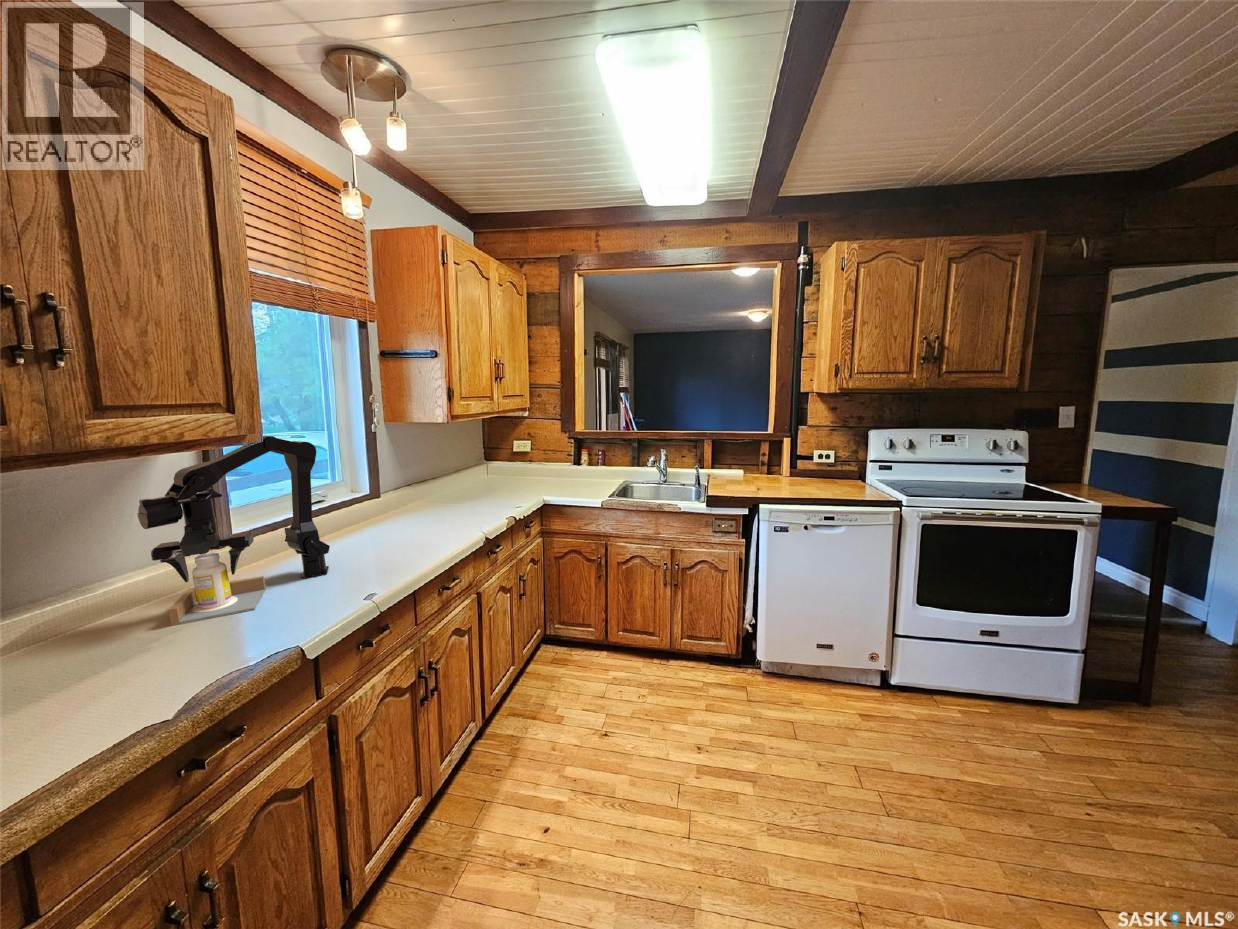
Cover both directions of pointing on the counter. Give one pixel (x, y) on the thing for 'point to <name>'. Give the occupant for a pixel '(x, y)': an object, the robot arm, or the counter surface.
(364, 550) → the counter surface
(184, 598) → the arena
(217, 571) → the supplement bottle
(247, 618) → the counter surface
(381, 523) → the counter surface
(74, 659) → the counter surface
